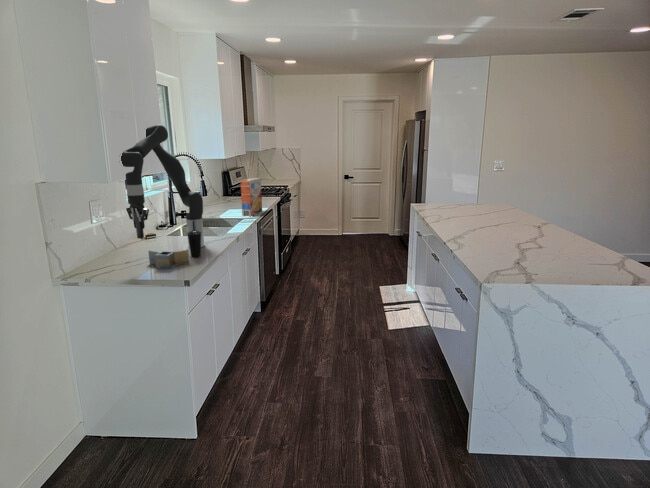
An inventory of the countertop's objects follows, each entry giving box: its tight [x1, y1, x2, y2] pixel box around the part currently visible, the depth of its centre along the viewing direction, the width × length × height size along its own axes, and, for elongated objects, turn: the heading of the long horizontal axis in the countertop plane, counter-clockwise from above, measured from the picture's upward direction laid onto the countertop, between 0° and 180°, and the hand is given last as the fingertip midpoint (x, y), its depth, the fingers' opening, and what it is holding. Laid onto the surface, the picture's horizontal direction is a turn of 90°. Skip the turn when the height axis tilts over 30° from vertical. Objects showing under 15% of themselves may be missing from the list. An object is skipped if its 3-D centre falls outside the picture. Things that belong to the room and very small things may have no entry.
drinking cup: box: [186, 221, 202, 259], centre depth 234 cm, size 8×8×20 cm
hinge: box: [147, 249, 190, 270], centre depth 220 cm, size 11×20×7 cm, turn 84°
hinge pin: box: [134, 210, 145, 239], centre depth 211 cm, size 3×3×14 cm
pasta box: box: [240, 177, 263, 218], centre depth 361 cm, size 23×8×30 cm, turn 165°
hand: (139, 228), depth 211 cm, fingers closed on hinge pin, 3 cm apart
